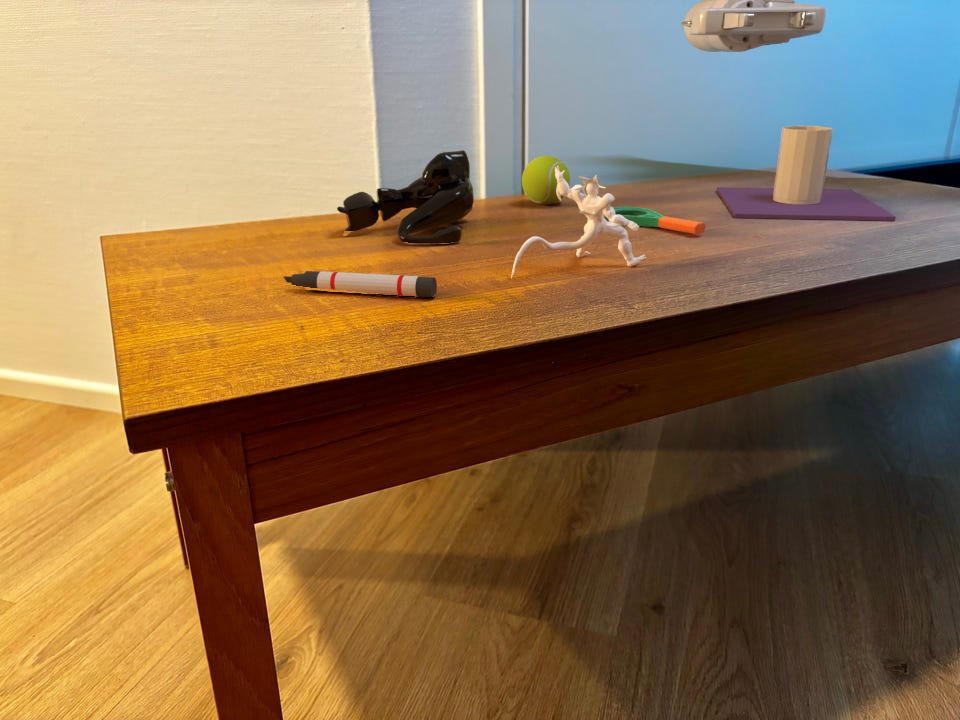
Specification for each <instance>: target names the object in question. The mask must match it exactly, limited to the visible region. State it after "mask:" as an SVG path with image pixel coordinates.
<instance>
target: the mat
mask: <svg viewBox="0 0 960 720" xmlns="http://www.w3.org/2000/svg"><path fill="white" fill-rule="evenodd" d="M773 191H774V187H719V186H718V187H716V192H717V195H718V196H719V198H721V200H722V201H723V203H724V204H725V206H726V208H727V209H728V210H729V212H730V213H731V215H732V216H733V218H735V219H769V220H770V219H771V220H819V221H824V220H825V221H866V222H867V221H871V222H872V221H873V222H874V221H875V222H876V221H877V222H895V221H896V218H897V217H896V215H895V214H893V213H891V212H889V211H888V210H886V209H884V208H882V207H881V206H880V205H878V204H876V203H874V202H873V201H872V200H871V199H870V200H869V199H868V198H867V197H865V196H863V195H861V194H860V193H859V192H857V191H855V190H853V189H852V188H823V193H822V197H821V202H820V203H817V204H810V205H797V204H786V203H780V202H776V201H774V200H773Z"/></svg>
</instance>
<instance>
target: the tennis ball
mask: <svg viewBox="0 0 960 720" xmlns="http://www.w3.org/2000/svg"><path fill="white" fill-rule="evenodd" d="M557 166H558V167H559V171H560V172H562V171H563V170H565V171H564V173H563V178H564V180H565V181H566V182H567V183H568V185H569V186H571V185H570V184H571V174H570V171H569V168H568V167H567V165H566V164H565V163H564V162H563V161H562V160H561V159H559V158H558V157H555V156H552V155H541V156H537V157H535V158H533V159H531V161H529V162H528V164H527V165H526V166H525V168H524V170H523V172H522V176H521V185H522V186H521V187H522V189H523V192H524V194H525V195H526V196H527V198H528V199H529V200H530V201H532V202H534V203H535V204H538V205H543V206H548V205H553V204H555V203H557V202H559V201H560V200H559V198H558V197H557V194H556V189H557V185H558V183H557V179H556V177H555V174H556V173H555V167H556V168H557ZM557 170H558V169H557ZM564 197H565V196H563V195H561V200H562V199H563V198H564Z"/></svg>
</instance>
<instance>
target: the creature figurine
mask: <svg viewBox="0 0 960 720" xmlns="http://www.w3.org/2000/svg"><path fill="white" fill-rule="evenodd" d="M557 169H558V170H557ZM564 171H565V170H563V171H562V172H560V171H559V167H558V166H557V168H556V167H555V173H556V174H555V177H556V179H557V183H558V185H557V189H556V194H557V197H558V198H559V201H560V202H562V199H561V195H563V196H564V197H565V198H566V197H567V198H568V199H569V200H572V201H574V202H575V203H576V204H577V207H578V209H579V211H578V214H580V215H584V216H585V218H587V220H586V221H587V222H586V223H585V224H584V226H583V232H584V233H583V235H581V237H580V239H578V240H576V241H557V242H549V241H547V240H546V239H544V238H543V237H540V236H538V235H537V236H535V235H534V236H531V237H529V238H528V239H527V240H525V242H524V243H523V244H522V245H521V247H520V249H519V250H518V252H517V253H516V256H515V257H514V258H515V259H514V262H513V266H512V270H511V275H510V280H512V279H513V278H514V275H515V273H516V271H517V267H518V266H519V263H520V261H521V259H522V257H523V255H524V254H525V252H526V251H527V250H528V249H529V248H530V247H531V246H533V245H534V244H536V243H540V244H541V245H542V246H543V247H544V248H545V249H546V250H548V251H550V252H554V251H555V252H557V251H573V250H574V251H575V250H576V253H575V254H576V257H577V258H582V257H584V256H585V255H591V252H589V251H587V250H588V249H589V248H590V247H591V245H592V243H593V241H594V240H595V239H596V237H598V236H599V235H600V236H607V237H609V238H612V239H614V240H618V239H619V240H618V245H617V249H618V251H619V252H620V253H621V254H622V256H623V258H624V260H625V261H626V264H627V267H633V266H635V265H637V264H640V263H641V262H642V261H644V260H646V259H647V257H646V254H642V255H640V256H637V257H635V256H634V253H633V247H632V243H631V242H630V240H629V233H628V231H627V230H626V229H625V228H624V227H627V228H629V229H631V230H633V231H638V230H639V228H640V226H638V225H637V224H636V223H634V222H632V221H630V220H628V219H626V218H625V217H623V216H622V215H620V214H618V215H615V210H614V209H613V206H612V205H611V203H613V202H614V201H615V197H614V195H613V194H611V193H610V192H608V193H605V194H604V195H603V196H602V197H601V196H599V195H598V193H599V190H600V189H607V186H602V185H600V184H599V181H598V176H597V174H594V177H593V178H587V177H584V176H582V175H581V176H580V175H578V176H577V178H578V179H579V180H580V181H581V182H582V183H583V185H582V184H575V185H574V186H573V187H570V185H568V183H567V182H566V181H565V180H564V178H563V173H564ZM586 193H587V194H586ZM605 217H606V218H608V219H609V221H610V222H608V221H606V219H605Z"/></svg>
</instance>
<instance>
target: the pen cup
mask: <svg viewBox="0 0 960 720" xmlns="http://www.w3.org/2000/svg"><path fill="white" fill-rule="evenodd" d="M833 131H834V128H833V127H830V126H821V125H787V126H783V127H781V134H780V140H779V149H778V156H777V163H776V170H775V177H774V184H773V188H774V191H773V200H774V201H776V202H780V203H786V204H797V205H810V204H817V203H820V202H821V197H822V193H823V189H824V187H825V181H826V175H827V174H826V173H827V168H828V162H829V155H830V149H831V144H832V137H833Z"/></svg>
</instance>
